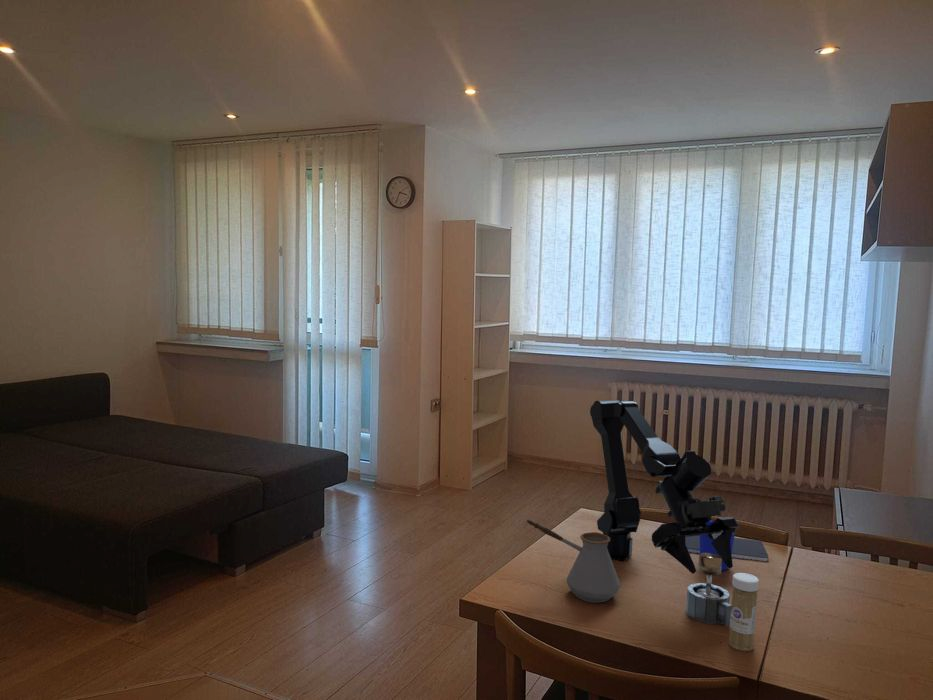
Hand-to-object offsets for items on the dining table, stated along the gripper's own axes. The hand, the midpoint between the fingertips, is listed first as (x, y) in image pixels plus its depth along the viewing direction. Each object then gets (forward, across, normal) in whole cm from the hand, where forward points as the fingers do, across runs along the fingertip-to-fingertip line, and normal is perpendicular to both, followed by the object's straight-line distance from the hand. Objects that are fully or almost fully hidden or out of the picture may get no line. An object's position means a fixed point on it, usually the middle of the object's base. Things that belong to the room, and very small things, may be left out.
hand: (712, 570), depth 141 cm
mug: (-10, +20, +24) cm, 33 cm away
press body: (+7, 0, +7) cm, 10 cm away
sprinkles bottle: (+15, -2, -1) cm, 16 cm away
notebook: (-15, +30, +30) cm, 45 cm away
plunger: (+3, 0, +5) cm, 6 cm away
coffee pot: (-7, -22, +21) cm, 31 cm away
